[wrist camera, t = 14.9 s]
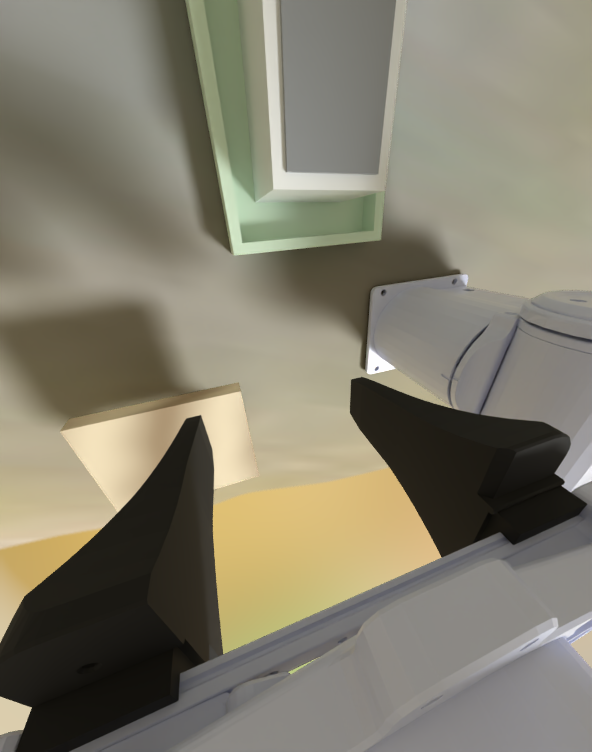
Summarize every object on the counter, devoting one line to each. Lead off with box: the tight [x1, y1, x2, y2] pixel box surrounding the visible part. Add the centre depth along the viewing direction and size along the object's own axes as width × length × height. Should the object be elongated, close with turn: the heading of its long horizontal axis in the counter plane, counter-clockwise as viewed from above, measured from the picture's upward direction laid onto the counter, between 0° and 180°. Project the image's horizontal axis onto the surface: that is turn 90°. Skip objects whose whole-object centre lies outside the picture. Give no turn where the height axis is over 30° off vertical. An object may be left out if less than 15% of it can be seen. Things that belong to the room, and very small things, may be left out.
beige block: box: [60, 383, 259, 512], centre depth 18 cm, size 9×8×7 cm
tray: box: [185, 0, 385, 256], centre depth 14 cm, size 10×12×2 cm
